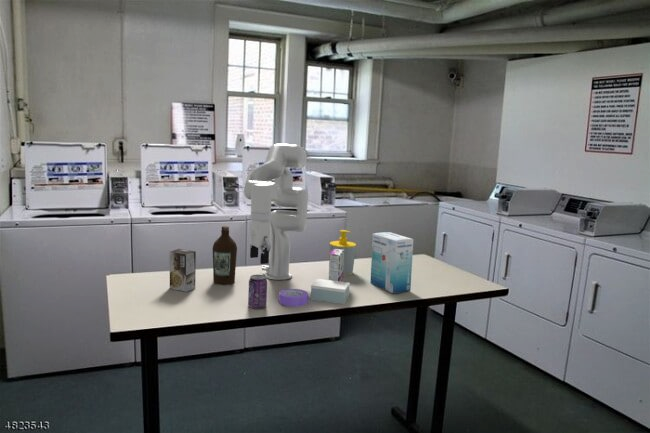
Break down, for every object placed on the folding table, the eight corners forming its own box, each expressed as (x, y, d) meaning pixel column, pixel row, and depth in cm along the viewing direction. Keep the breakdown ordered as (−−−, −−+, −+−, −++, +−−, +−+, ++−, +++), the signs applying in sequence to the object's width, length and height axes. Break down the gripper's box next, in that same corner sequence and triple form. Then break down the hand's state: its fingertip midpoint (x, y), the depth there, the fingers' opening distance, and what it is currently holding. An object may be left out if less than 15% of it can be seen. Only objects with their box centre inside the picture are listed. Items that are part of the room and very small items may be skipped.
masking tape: (275, 298, 210) (275, 289, 209) (301, 296, 214) (302, 287, 214) (284, 308, 199) (284, 298, 198) (311, 305, 204) (312, 296, 203)
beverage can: (248, 303, 202) (249, 273, 200) (266, 303, 202) (267, 274, 200) (247, 309, 195) (248, 279, 193) (266, 309, 195) (267, 279, 193)
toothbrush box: (368, 283, 237) (372, 232, 233) (386, 280, 243) (390, 231, 239) (392, 294, 222) (396, 240, 218) (410, 291, 228) (415, 238, 224)
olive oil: (215, 277, 233) (216, 223, 228) (238, 279, 232) (240, 225, 228) (208, 284, 222) (209, 228, 218) (232, 286, 222) (234, 229, 217)
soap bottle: (354, 277, 246) (357, 234, 243) (327, 275, 246) (330, 232, 243) (353, 269, 259) (356, 228, 256) (328, 268, 259) (330, 227, 256)
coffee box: (196, 288, 216) (196, 251, 214) (186, 292, 210) (186, 254, 208) (179, 284, 220) (179, 248, 217) (168, 288, 214) (168, 250, 212)
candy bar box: (332, 283, 234) (334, 248, 231) (342, 284, 233) (344, 249, 230) (327, 290, 223) (329, 253, 221) (338, 291, 222) (340, 255, 220)
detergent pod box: (310, 299, 210) (311, 285, 209) (316, 292, 220) (317, 278, 219) (343, 304, 207) (344, 289, 206) (348, 296, 216) (349, 282, 215)
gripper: (242, 213, 198) (241, 256, 201) (260, 220, 183) (259, 267, 186) (260, 212, 202) (259, 254, 205) (279, 220, 187) (277, 265, 190)
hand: (259, 260), depth 195 cm, fingers open, 9 cm apart
